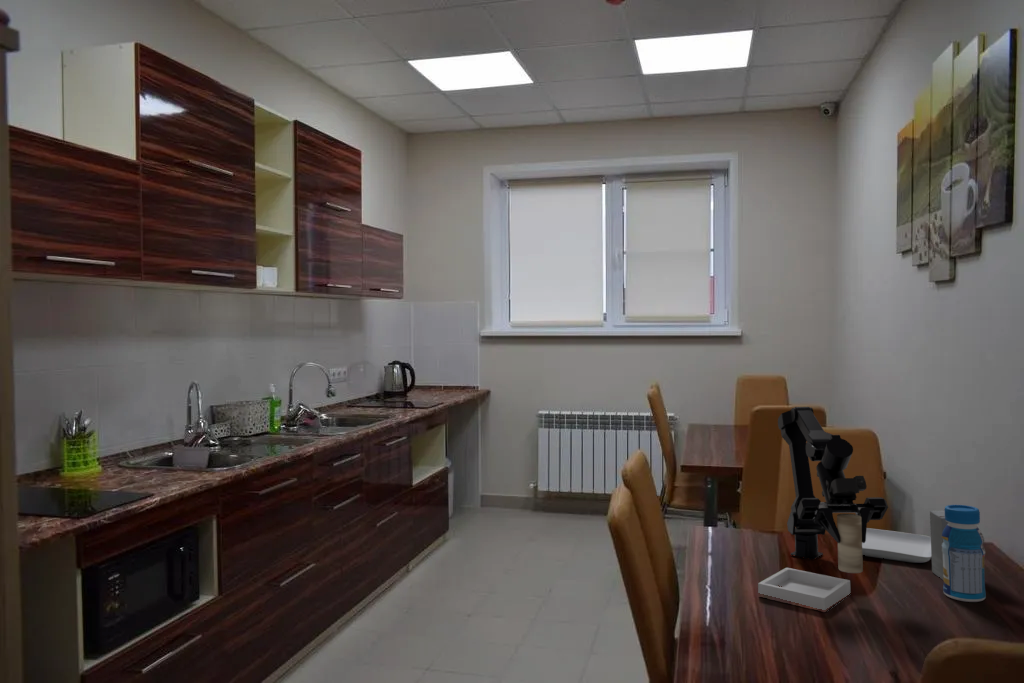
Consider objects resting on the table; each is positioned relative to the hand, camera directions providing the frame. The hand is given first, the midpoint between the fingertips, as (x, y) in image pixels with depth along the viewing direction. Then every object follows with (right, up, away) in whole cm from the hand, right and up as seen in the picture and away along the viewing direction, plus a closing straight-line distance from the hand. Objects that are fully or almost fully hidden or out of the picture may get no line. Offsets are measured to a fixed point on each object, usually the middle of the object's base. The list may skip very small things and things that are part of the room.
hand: (851, 542), depth 163 cm
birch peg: (0, -7, +1) cm, 7 cm away
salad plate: (+28, -13, +36) cm, 47 cm away
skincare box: (+32, -13, +14) cm, 37 cm away
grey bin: (-9, -14, +5) cm, 17 cm away
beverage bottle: (+26, -13, +1) cm, 29 cm away
